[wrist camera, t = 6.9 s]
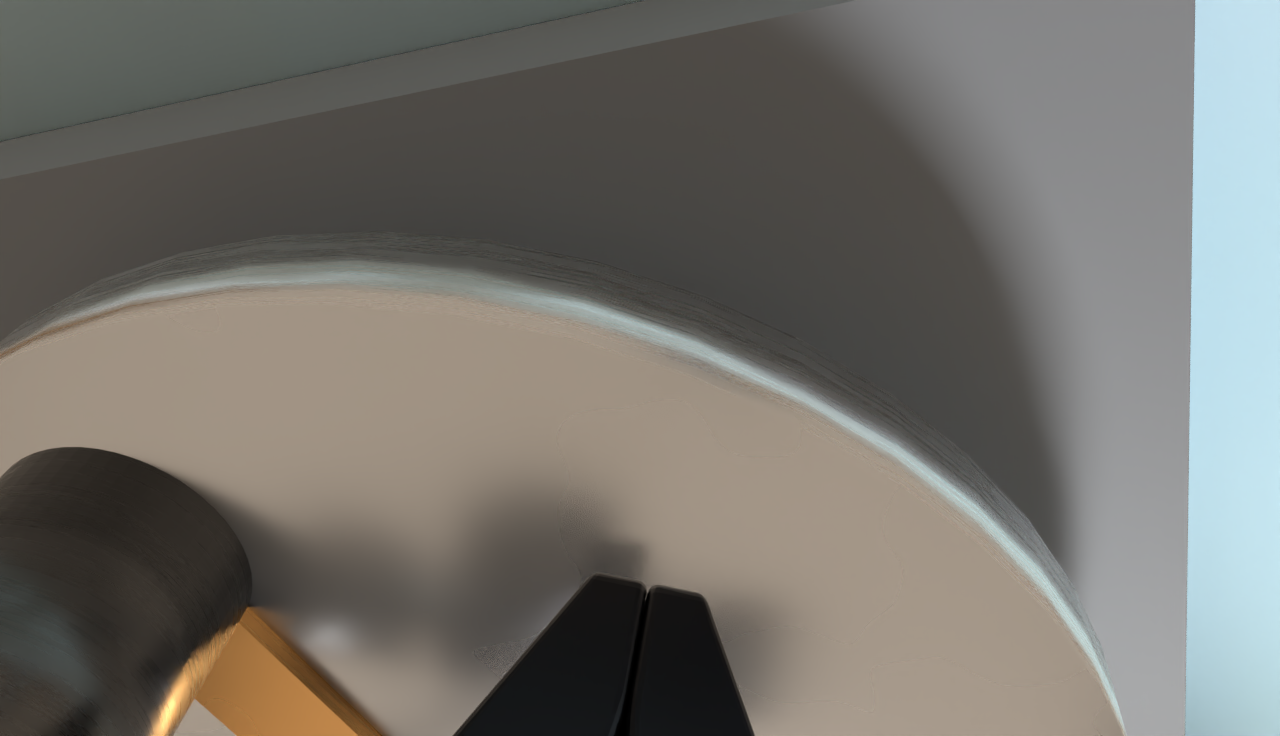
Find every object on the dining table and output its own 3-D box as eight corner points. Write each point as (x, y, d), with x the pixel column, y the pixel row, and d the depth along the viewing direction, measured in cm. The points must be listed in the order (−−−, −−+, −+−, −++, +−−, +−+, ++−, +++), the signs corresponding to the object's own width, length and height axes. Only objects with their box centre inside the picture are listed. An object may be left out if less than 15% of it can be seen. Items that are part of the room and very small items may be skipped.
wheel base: (259, 902, 21) (194, 1051, 19) (-252, 197, 14) (-461, 309, 11) (1156, 889, 17) (1203, 1074, 15) (1149, -111, 10) (1244, -29, 8)
